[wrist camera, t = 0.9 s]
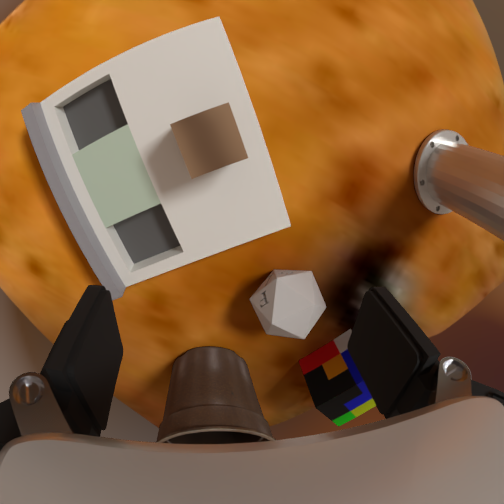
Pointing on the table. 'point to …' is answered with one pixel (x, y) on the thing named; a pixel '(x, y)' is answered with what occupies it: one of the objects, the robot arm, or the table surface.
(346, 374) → the puzzle toy
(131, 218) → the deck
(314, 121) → the table surface
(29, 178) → the table surface
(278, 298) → the die
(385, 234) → the table surface
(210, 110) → the block
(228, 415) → the plant pot
